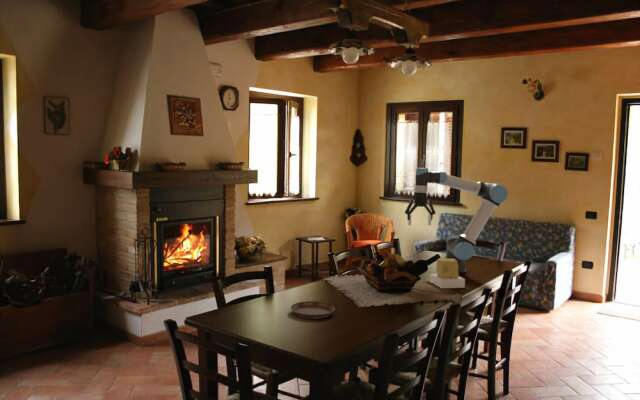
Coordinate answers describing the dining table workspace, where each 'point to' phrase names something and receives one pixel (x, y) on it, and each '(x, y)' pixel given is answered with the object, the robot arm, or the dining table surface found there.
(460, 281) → the stand
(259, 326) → the dining table surface
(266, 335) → the dining table surface
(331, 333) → the dining table surface
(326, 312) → the plant saucer
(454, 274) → the cheese
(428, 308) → the dining table surface
